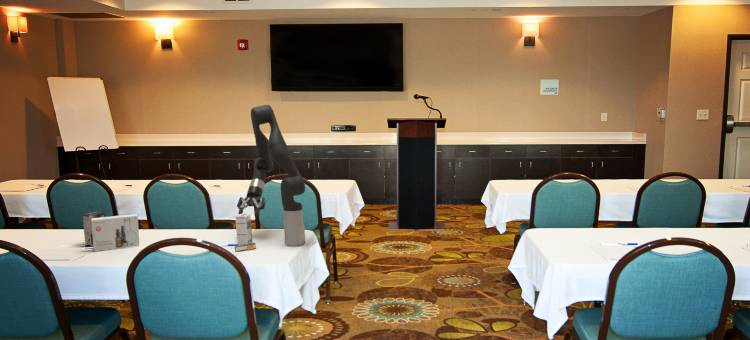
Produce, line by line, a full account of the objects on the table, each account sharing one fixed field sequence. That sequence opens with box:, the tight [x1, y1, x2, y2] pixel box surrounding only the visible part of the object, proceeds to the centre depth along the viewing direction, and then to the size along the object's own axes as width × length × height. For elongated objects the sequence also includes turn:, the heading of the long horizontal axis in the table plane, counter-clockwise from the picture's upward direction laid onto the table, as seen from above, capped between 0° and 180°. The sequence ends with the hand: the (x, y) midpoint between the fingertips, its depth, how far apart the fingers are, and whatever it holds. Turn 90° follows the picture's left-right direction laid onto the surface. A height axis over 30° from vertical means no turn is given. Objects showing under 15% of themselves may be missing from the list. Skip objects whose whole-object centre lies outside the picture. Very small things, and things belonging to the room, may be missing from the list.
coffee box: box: [82, 211, 107, 247], centre depth 307 cm, size 9×6×16 cm
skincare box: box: [91, 213, 140, 252], centre depth 298 cm, size 21×5×16 cm, turn 117°
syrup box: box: [235, 213, 253, 245], centre depth 300 cm, size 6×6×14 cm
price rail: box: [234, 242, 257, 253], centre depth 287 cm, size 10×2×2 cm, turn 123°
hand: (247, 215), depth 305 cm, fingers open, 8 cm apart
